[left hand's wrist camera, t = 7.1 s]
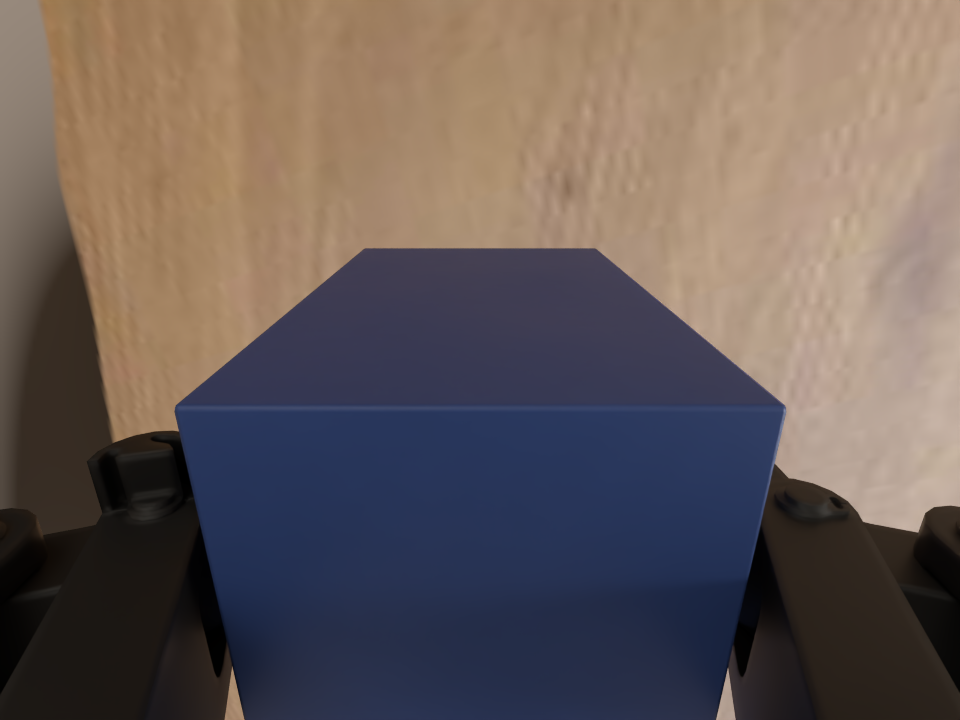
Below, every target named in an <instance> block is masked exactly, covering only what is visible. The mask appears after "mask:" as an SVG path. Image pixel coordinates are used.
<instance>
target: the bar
mask: <svg viewBox="0 0 960 720" xmlns="http://www.w3.org/2000/svg"><path fill="white" fill-rule="evenodd" d="M785 415H786V407H785V405H784V404H782V403H781V402H780V401H779V400H778V399H776V398H775V397H774V396H773V395H772V394H770V393H769V392H768V391H767V390H766V389H764V388H763V387H762V386H761V385H760V384H758V383H757V382H756V381H755V380H754V379H752V378H751V377H750V376H749V375H747V374H746V373H745V372H744V371H743V370H741V369H740V368H739V367H738V366H737V365H735V364H734V363H733V362H732V361H731V360H729V359H728V358H727V357H726V356H725V355H723V354H722V353H721V352H720V351H719V350H717V349H716V348H715V347H714V346H713V345H711V344H710V343H709V342H708V341H706V340H705V339H704V338H703V337H702V336H700V335H699V334H698V333H697V332H696V331H694V330H693V329H692V328H691V327H690V326H688V325H687V324H686V323H685V322H684V321H682V320H681V319H680V318H679V317H678V316H676V315H675V314H674V313H673V312H672V311H670V310H669V309H668V308H667V307H665V306H664V305H663V304H662V303H661V302H659V301H658V300H657V299H656V298H655V297H653V296H652V295H651V294H650V293H649V292H647V291H646V290H645V289H644V288H643V287H641V286H640V285H639V284H638V283H637V282H635V281H634V280H633V279H632V278H631V277H629V276H628V275H627V274H626V273H624V272H623V271H622V270H621V269H620V268H618V267H617V266H616V265H615V264H614V263H612V262H611V261H610V260H609V259H608V258H606V257H605V256H604V255H603V254H602V253H600V252H599V251H598V250H597V249H364V250H362V251H361V252H360V253H359V254H358V255H356V256H355V257H354V258H353V259H352V260H350V261H349V262H348V263H347V264H346V265H344V266H343V267H342V268H341V269H340V270H338V271H337V272H336V273H335V274H333V275H332V276H331V277H330V278H329V279H327V280H326V281H325V282H324V283H323V284H321V285H320V286H319V287H318V288H317V289H315V290H314V291H313V292H312V293H311V294H309V295H308V296H307V297H306V298H305V299H303V300H302V301H301V302H300V303H299V304H297V305H296V306H295V307H294V308H293V309H291V310H290V311H289V312H288V313H287V314H285V315H284V316H283V317H282V318H281V319H279V320H278V321H277V322H276V323H275V324H273V325H272V326H271V327H270V328H269V329H267V330H266V331H265V332H264V333H262V334H261V335H260V336H259V337H258V338H256V339H255V340H254V341H253V342H252V343H250V344H249V345H248V346H247V347H246V348H244V349H243V350H242V351H241V352H240V353H238V354H237V355H236V356H235V357H234V358H232V359H231V360H230V361H229V362H228V363H226V364H225V365H224V366H223V367H222V368H220V369H219V370H218V371H217V372H216V373H214V374H213V375H212V376H211V377H210V378H208V379H207V380H206V381H205V382H204V383H202V384H201V385H200V386H199V387H198V388H196V389H195V390H194V391H193V392H192V393H190V394H189V395H188V396H187V397H185V398H184V399H183V400H182V401H181V402H179V403H178V404H177V405H176V407H175V416H176V420H177V424H178V429H179V433H180V438H181V442H182V446H183V451H184V455H185V460H186V464H187V468H188V473H189V477H190V482H191V486H192V490H193V495H194V499H195V504H196V508H197V512H198V517H199V521H200V526H201V530H202V534H203V539H204V543H205V548H206V552H207V556H208V561H209V565H210V570H211V574H212V578H213V583H214V587H215V592H216V596H217V600H218V605H219V609H220V614H221V618H222V622H223V627H224V631H225V636H226V640H227V644H228V649H229V653H230V658H231V662H232V666H233V671H234V675H235V680H236V684H237V688H238V693H239V697H240V702H241V706H242V710H243V715H244V719H245V720H716V717H717V713H718V709H719V704H720V700H721V695H722V691H723V687H724V682H725V678H726V674H727V669H728V665H729V660H730V656H731V652H732V647H733V643H734V638H735V634H736V630H737V625H738V621H739V617H740V612H741V608H742V603H743V599H744V595H745V590H746V586H747V581H748V577H749V573H750V568H751V564H752V560H753V555H754V551H755V546H756V542H757V538H758V533H759V529H760V525H761V520H762V516H763V511H764V507H765V503H766V498H767V494H768V489H769V485H770V481H771V476H772V472H773V468H774V463H775V459H776V454H777V450H778V446H779V441H780V437H781V432H782V428H783V424H784V419H785Z"/></svg>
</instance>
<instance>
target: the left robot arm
mask: <svg viewBox="0 0 960 720" xmlns="http://www.w3.org/2000/svg"><path fill="white" fill-rule="evenodd" d="M87 464H88V467H89V470H90V474H91V477H92V480H93V483H94V487H95V490H96V493H97V497H98V500H99V503H100V507H101V510H102V515H101V517H100V519H99V520H98V522H97V524H96V525H94V526H89V527H84V528H79V529H74V530H68V531H63V532H58V533H52V534H47V535H43V534H42V531H41V528H40V525H39V523H38V520H37V517H36V515H34V514H33V513H31V512H30V511H28V510H24V509H14V508H10V509H2V510H0V720H224V719H225V712H226V705H227V698H228V691H229V684H230V677H231V670H232V662H231V658H230V653H229V649H228V644H227V640H226V636H225V631H224V627H223V622H222V618H221V614H220V609H219V605H218V600H217V596H216V592H215V587H214V583H213V578H212V574H211V570H210V565H209V561H208V556H207V552H206V548H205V543H204V539H203V534H202V530H201V526H200V521H199V517H198V512H197V508H196V504H195V499H194V495H193V490H192V486H191V482H190V477H189V473H188V468H187V464H186V460H185V455H184V451H183V446H182V442H181V438H180V433H179V432H178V431H156V432H150V433H145V434H140V435H135V436H132V437H129V438H126V439H123V440H120V441H118V442H115V443H113V444H111V445H109V446H107V447H105V448H103V449H102V450H100V451H98V452H97V453H96V454H95V455H93V456H92V457H91V458H90V459H89V460H88V461H87ZM728 669H729V676H730V683H731V690H732V697H733V704H734V711H735V718H736V720H960V507H956V506H942V507H934V508H932V509H931V510H929V511H928V512H926V513H925V516H924V518H923V521H922V524H921V527H920V530H919V532H918V533H917V532H911V531H906V530H901V529H895V528H890V527H885V526H879V525H874V524H869V523H865V522H863V521H862V519H861V518H860V516H859V514H858V512H857V511H856V510H855V509H854V508H853V507H852V506H851V505H850V503H849V502H848V501H846V500H845V499H843V498H842V497H840V496H839V495H837V494H835V493H834V492H832V491H830V490H828V489H825V488H823V487H820V486H818V485H816V484H813V483H809V482H805V481H800V480H796V479H789V478H788V477H787V476H786V475H785V474H784V473H783V472H782V471H781V470H780V469H779V468H778V467H777V466H776V465H775V463H774V468H773V472H772V476H771V481H770V485H769V489H768V494H767V498H766V503H765V507H764V511H763V516H762V520H761V525H760V529H759V533H758V538H757V542H756V546H755V551H754V555H753V560H752V564H751V568H750V573H749V577H748V581H747V586H746V590H745V595H744V599H743V603H742V608H741V612H740V617H739V621H738V625H737V630H736V634H735V638H734V643H733V647H732V652H731V656H730V660H729V665H728Z"/></svg>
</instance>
